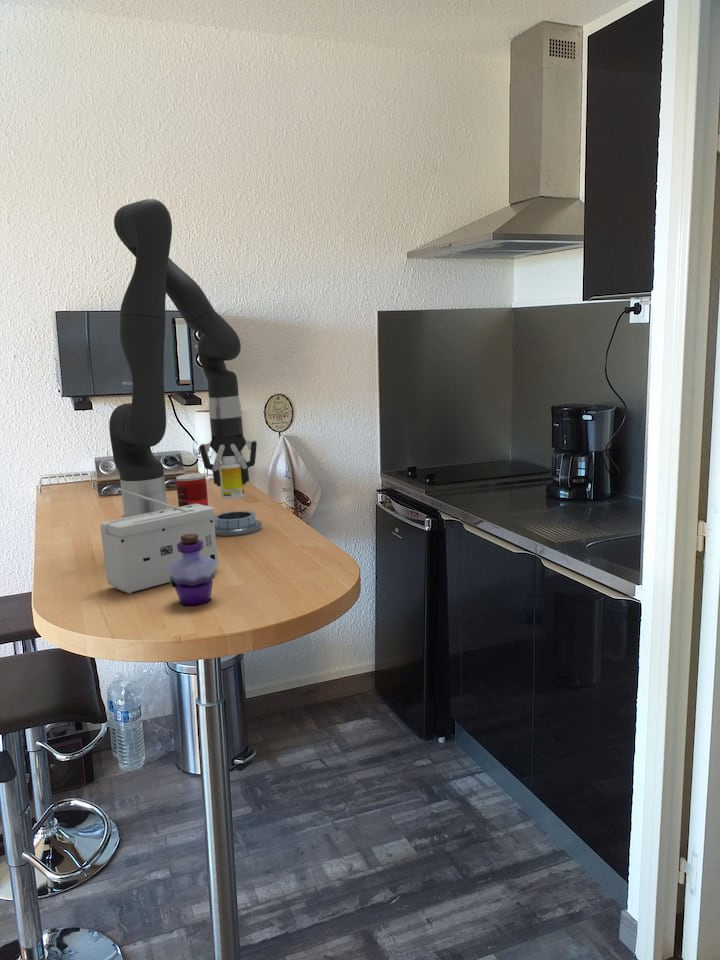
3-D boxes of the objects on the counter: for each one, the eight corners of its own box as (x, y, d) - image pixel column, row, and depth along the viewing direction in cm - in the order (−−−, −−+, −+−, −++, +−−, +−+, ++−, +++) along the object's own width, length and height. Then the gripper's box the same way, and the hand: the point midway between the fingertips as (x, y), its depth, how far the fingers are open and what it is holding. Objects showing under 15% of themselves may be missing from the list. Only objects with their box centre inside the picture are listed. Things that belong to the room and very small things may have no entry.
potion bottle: (170, 596, 136) (164, 532, 134) (219, 590, 138) (213, 527, 136) (169, 612, 128) (163, 543, 126) (221, 605, 130) (215, 538, 128)
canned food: (213, 512, 207) (210, 473, 205) (201, 519, 199) (197, 478, 197) (188, 512, 208) (184, 473, 207) (174, 519, 201) (170, 478, 199)
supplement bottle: (248, 496, 183) (244, 455, 181) (226, 500, 180) (223, 458, 178) (238, 493, 187) (235, 452, 186) (217, 497, 184) (213, 455, 183)
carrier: (242, 538, 176) (241, 523, 176) (197, 534, 182) (196, 520, 181) (272, 525, 188) (271, 510, 187) (229, 522, 193) (228, 508, 193)
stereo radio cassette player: (202, 563, 157) (193, 469, 153) (223, 571, 151) (214, 472, 147) (105, 588, 143) (93, 485, 140) (124, 598, 137) (112, 490, 134)
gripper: (193, 419, 176) (200, 490, 179) (254, 415, 177) (260, 485, 180) (197, 416, 183) (203, 484, 186) (256, 412, 184) (262, 480, 187)
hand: (231, 484), depth 183 cm, fingers closed on supplement bottle, 5 cm apart
